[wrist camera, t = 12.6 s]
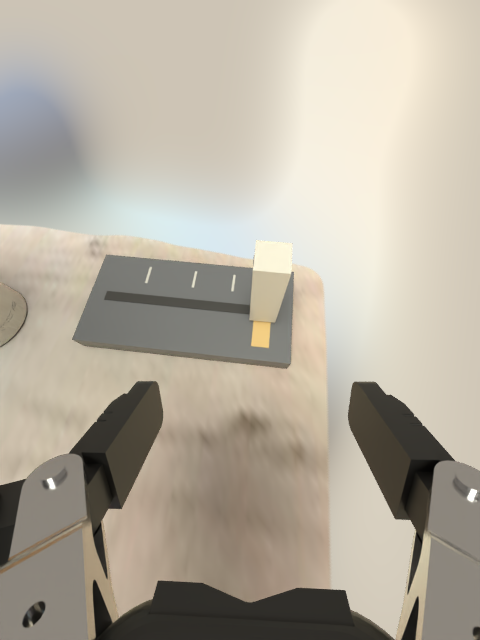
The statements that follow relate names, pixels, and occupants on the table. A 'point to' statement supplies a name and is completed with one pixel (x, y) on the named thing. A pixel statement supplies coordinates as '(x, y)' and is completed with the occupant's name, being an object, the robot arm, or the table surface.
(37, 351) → the table surface
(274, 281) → the fader knob
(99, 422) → the robot arm
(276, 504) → the table surface
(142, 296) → the fader console
